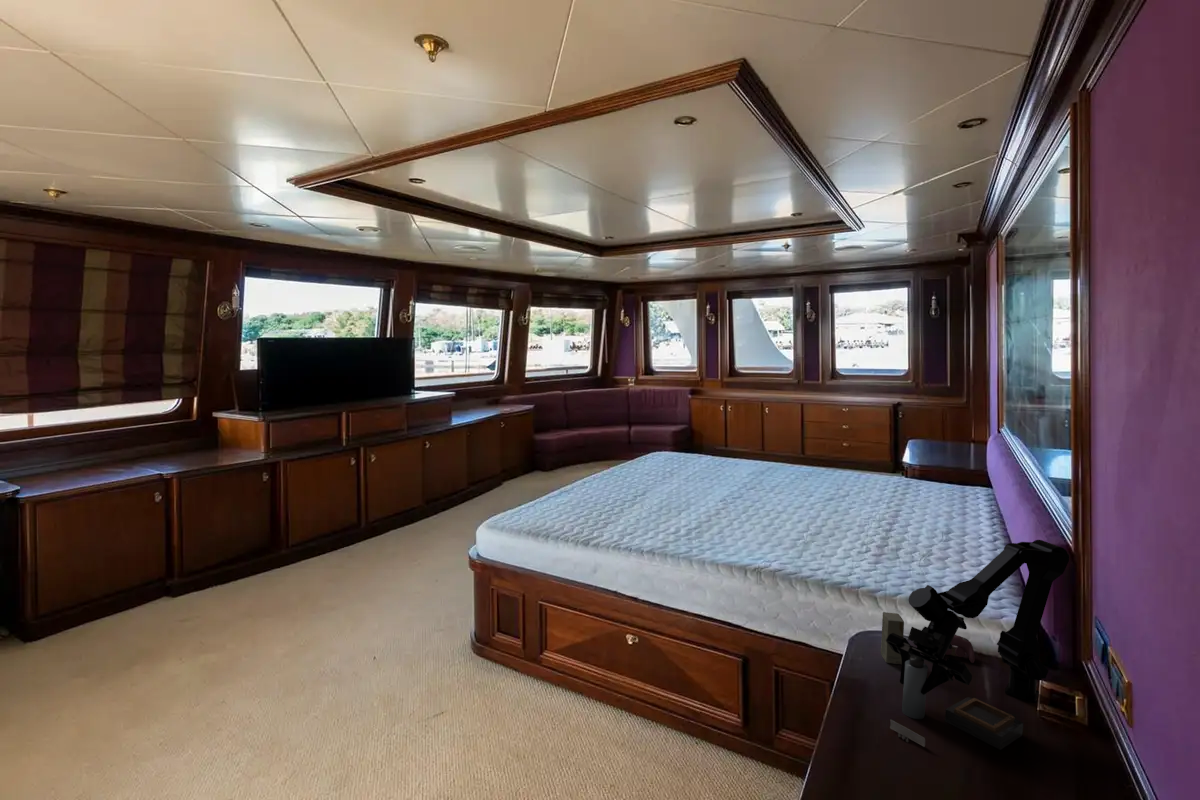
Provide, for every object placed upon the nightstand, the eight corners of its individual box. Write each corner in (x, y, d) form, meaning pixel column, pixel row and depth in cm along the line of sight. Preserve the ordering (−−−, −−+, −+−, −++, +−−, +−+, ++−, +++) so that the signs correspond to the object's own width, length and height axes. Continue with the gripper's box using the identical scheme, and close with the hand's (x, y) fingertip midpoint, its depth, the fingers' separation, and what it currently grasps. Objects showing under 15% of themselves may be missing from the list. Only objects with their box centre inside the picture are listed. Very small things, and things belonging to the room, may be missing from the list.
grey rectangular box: (967, 708, 149) (968, 693, 149) (1022, 735, 139) (1023, 719, 139) (944, 721, 144) (946, 705, 144) (1000, 750, 134) (1001, 733, 134)
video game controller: (972, 663, 174) (971, 637, 177) (976, 663, 170) (975, 637, 173) (933, 657, 177) (932, 631, 180) (936, 657, 173) (935, 631, 176)
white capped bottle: (905, 704, 150) (909, 651, 149) (926, 713, 147) (930, 658, 146) (899, 713, 147) (902, 658, 146) (921, 721, 144) (924, 666, 142)
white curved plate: (915, 754, 133) (916, 741, 132) (880, 734, 139) (881, 721, 139) (924, 748, 135) (925, 735, 134) (890, 729, 141) (891, 716, 141)
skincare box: (902, 665, 169) (905, 622, 168) (885, 663, 170) (888, 620, 169) (896, 654, 176) (898, 612, 175) (880, 652, 177) (882, 611, 176)
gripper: (892, 601, 155) (862, 654, 150) (969, 630, 139) (939, 691, 134) (908, 624, 160) (880, 676, 155) (984, 655, 144) (956, 714, 139)
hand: (911, 688), depth 146 cm, fingers closed on white capped bottle, 5 cm apart
